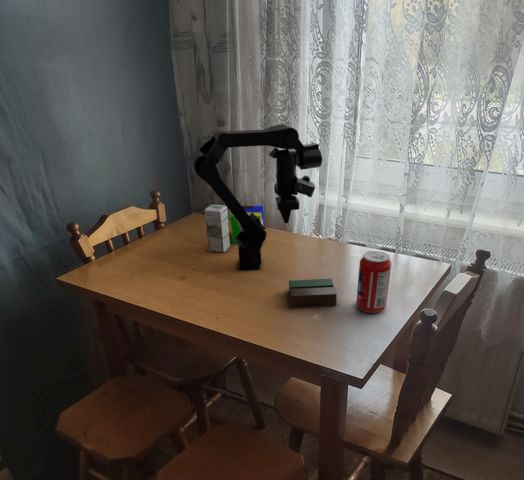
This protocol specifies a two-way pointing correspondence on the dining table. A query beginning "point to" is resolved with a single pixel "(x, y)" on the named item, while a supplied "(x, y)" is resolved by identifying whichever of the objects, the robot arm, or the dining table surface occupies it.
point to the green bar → (310, 283)
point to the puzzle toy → (249, 209)
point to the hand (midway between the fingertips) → (286, 222)
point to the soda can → (373, 281)
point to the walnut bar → (313, 297)
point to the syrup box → (217, 228)
